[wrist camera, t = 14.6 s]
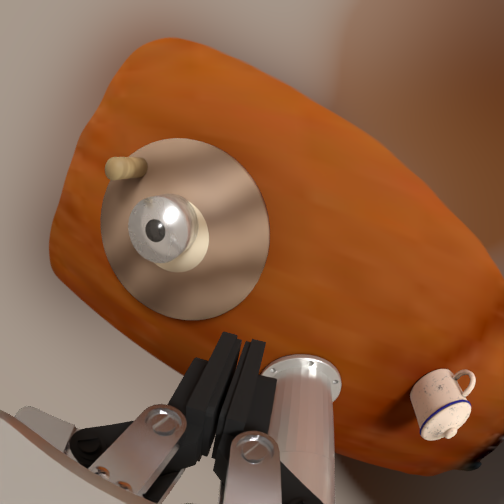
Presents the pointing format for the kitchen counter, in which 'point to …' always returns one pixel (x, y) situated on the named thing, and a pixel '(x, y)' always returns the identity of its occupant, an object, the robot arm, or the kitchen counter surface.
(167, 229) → the cover
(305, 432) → the robot arm
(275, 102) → the kitchen counter surface
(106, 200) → the disc
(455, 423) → the teacup with lid
